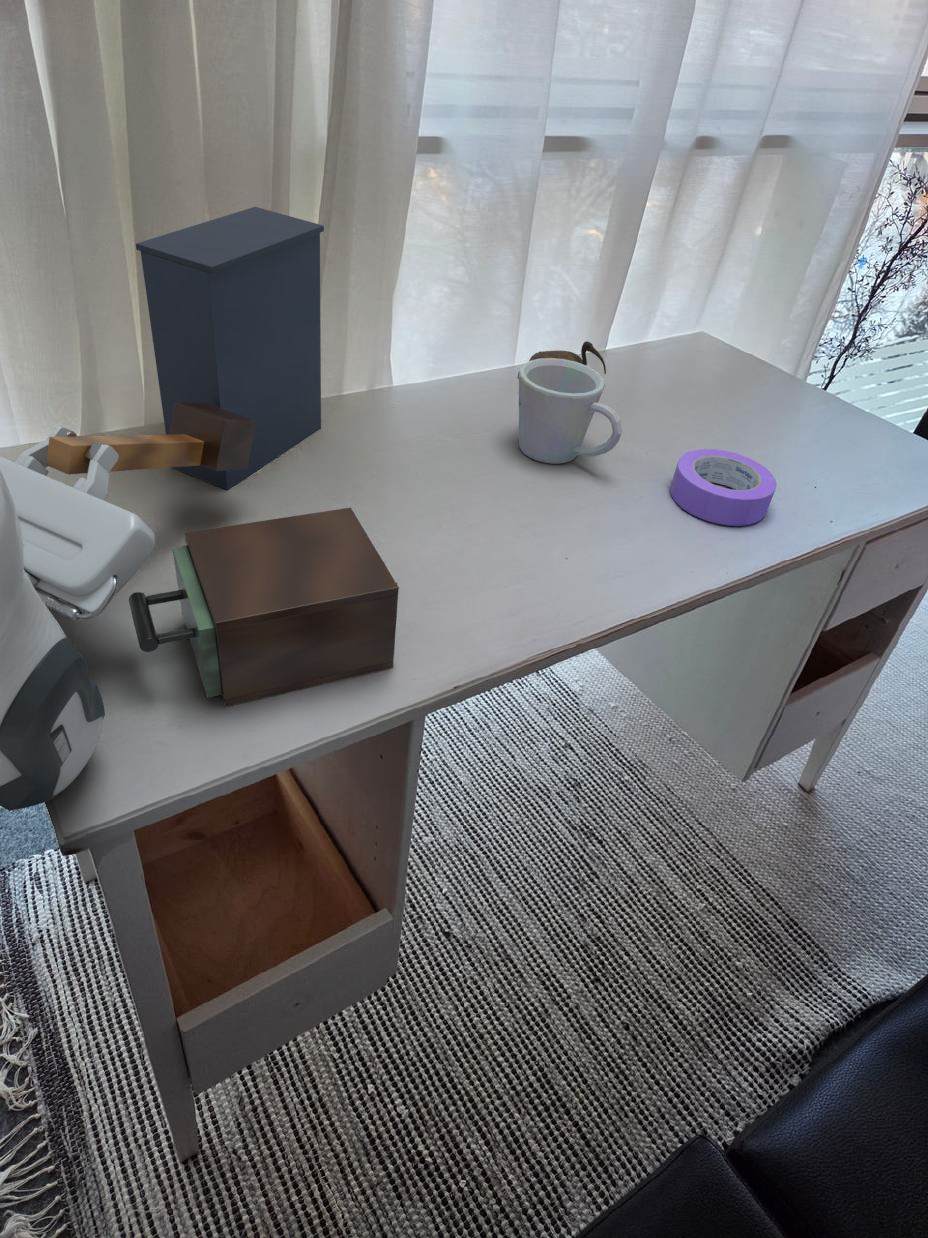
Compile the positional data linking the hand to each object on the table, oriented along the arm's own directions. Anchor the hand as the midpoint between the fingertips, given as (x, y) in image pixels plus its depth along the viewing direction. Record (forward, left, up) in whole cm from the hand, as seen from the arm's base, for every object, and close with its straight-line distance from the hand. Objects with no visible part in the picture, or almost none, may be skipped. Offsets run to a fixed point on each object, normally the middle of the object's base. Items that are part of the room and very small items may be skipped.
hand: (89, 439), depth 69 cm
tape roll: (+68, -4, -15) cm, 70 cm away
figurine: (+63, +26, -15) cm, 70 cm away
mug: (+54, +10, -15) cm, 57 cm away
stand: (+17, +22, -15) cm, 32 cm away
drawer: (+9, -13, -14) cm, 21 cm away
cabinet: (+13, -13, -15) cm, 24 cm away
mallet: (+4, +4, -5) cm, 7 cm away
